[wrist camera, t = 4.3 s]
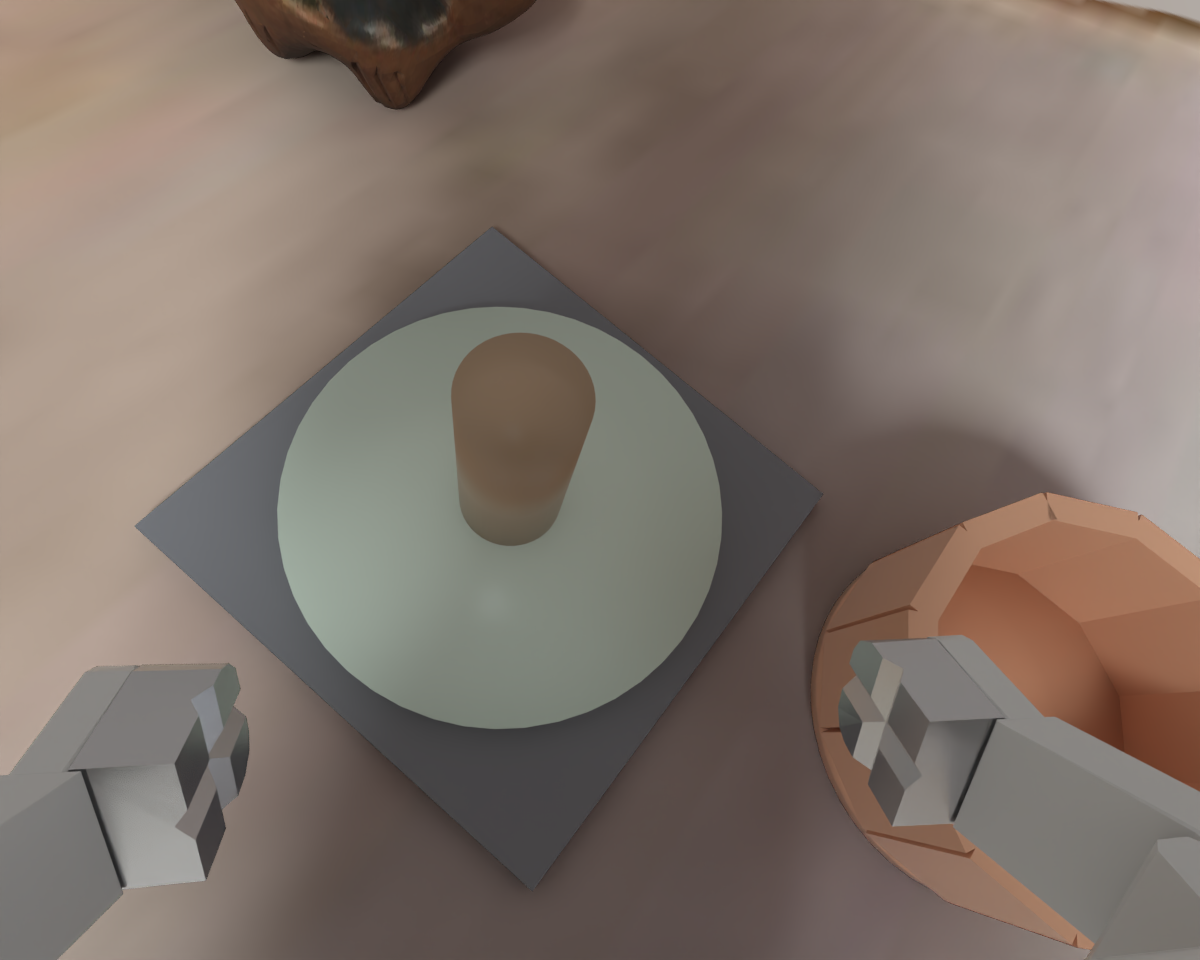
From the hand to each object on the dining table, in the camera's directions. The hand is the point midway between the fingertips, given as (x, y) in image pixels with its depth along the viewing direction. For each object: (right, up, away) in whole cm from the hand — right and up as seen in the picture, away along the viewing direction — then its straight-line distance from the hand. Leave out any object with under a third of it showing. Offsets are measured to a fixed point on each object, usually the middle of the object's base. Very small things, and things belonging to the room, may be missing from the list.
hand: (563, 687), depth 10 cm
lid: (-2, +2, +13) cm, 13 cm away
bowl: (+13, -5, +14) cm, 19 cm away
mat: (-2, +2, +13) cm, 14 cm away
